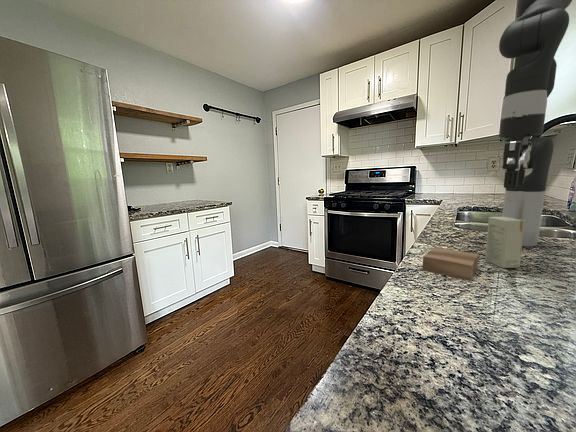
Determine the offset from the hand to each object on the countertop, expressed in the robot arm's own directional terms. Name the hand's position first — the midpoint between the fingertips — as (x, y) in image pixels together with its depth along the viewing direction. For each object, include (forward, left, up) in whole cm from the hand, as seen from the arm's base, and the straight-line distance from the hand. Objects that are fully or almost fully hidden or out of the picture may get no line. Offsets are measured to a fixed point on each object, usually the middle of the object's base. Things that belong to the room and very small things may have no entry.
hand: (513, 186), depth 60 cm
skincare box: (-2, -1, -21) cm, 21 cm away
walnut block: (+10, -10, -21) cm, 25 cm away
